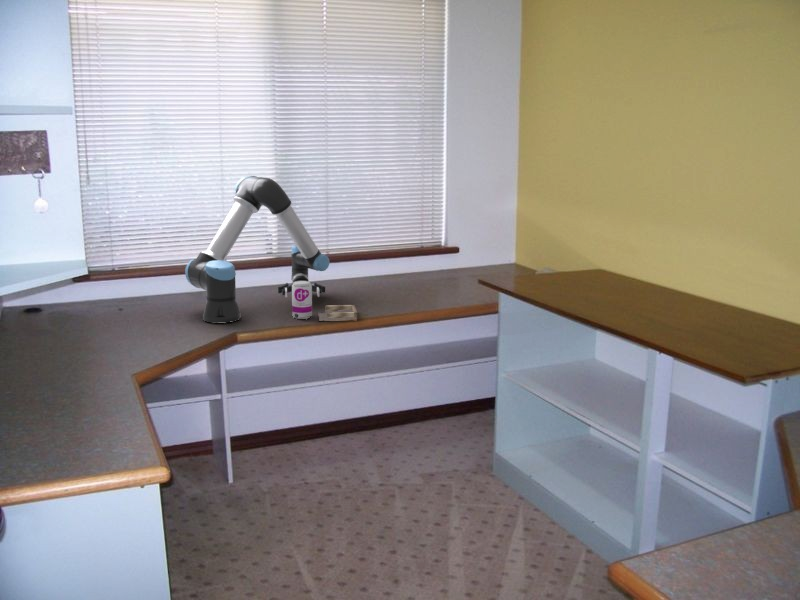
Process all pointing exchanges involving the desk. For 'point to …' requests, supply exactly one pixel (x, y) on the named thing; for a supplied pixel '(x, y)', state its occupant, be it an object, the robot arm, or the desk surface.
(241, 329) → the desk surface
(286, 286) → the robot arm
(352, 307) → the dock
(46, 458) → the desk surface
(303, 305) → the supplement can
